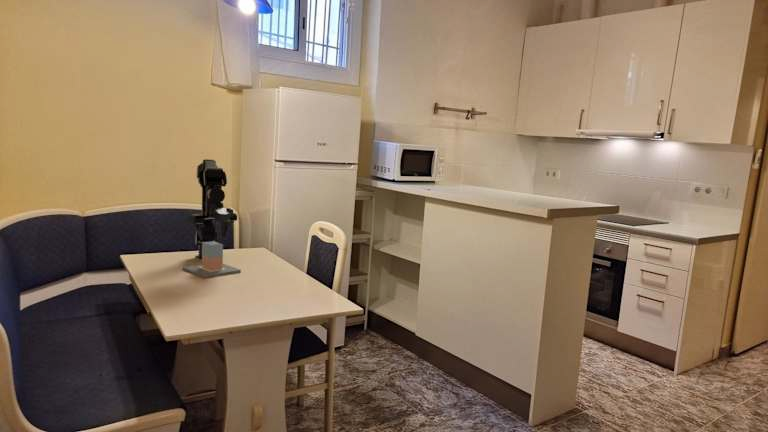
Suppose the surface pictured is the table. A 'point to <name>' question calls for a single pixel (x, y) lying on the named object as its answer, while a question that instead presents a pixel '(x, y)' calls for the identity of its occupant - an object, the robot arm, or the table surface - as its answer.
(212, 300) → the table surface
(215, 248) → the brick
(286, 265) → the table surface
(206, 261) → the brick
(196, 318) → the table surface
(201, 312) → the table surface
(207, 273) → the baseplate
